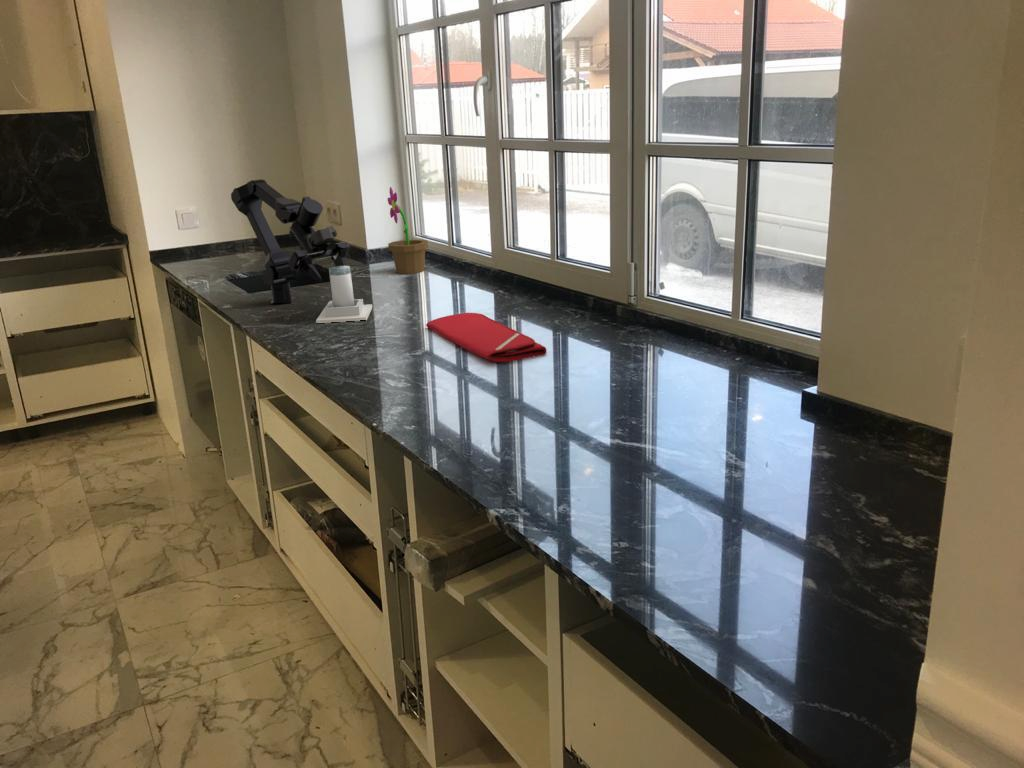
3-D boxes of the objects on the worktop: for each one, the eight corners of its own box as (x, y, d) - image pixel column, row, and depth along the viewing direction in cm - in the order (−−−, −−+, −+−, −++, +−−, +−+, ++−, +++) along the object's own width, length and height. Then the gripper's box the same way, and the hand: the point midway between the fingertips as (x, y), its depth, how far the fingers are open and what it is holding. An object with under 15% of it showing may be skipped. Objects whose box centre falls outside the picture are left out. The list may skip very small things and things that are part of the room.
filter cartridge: (336, 310, 248) (330, 266, 244) (356, 309, 249) (351, 265, 244) (332, 315, 243) (327, 270, 239) (353, 313, 243) (348, 269, 239)
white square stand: (325, 310, 253) (323, 299, 252) (372, 307, 254) (371, 296, 253) (316, 324, 238) (314, 311, 237) (366, 320, 239) (364, 308, 237)
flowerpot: (385, 270, 309) (376, 186, 299) (422, 265, 314) (415, 183, 304) (397, 277, 296) (388, 189, 287) (436, 271, 302) (428, 185, 292)
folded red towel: (479, 320, 234) (478, 307, 233) (549, 356, 199) (548, 340, 197) (426, 329, 228) (424, 316, 227) (487, 368, 192) (486, 352, 191)
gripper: (287, 223, 236) (316, 265, 233) (342, 214, 249) (370, 254, 245) (276, 249, 244) (303, 290, 240) (330, 239, 257) (356, 278, 253)
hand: (334, 277), depth 245 cm, fingers open, 9 cm apart
